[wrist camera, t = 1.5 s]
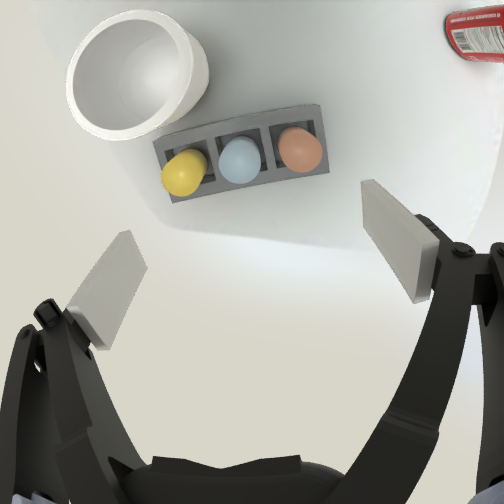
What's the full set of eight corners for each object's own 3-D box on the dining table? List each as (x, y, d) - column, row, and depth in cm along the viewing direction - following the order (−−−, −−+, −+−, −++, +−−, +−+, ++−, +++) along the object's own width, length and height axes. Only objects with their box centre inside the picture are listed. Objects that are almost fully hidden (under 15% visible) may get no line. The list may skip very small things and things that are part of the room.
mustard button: (169, 153, 30) (156, 164, 26) (202, 144, 30) (194, 153, 26) (179, 184, 32) (168, 200, 28) (211, 177, 32) (204, 191, 28)
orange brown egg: (273, 129, 29) (277, 136, 25) (309, 123, 29) (319, 129, 24) (280, 163, 31) (284, 175, 27) (314, 157, 31) (324, 169, 26)
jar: (188, 24, 24) (145, -16, 12) (236, 86, 29) (222, 81, 16) (119, 76, 27) (45, 78, 15) (163, 136, 32) (109, 169, 19)
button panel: (160, 137, 32) (152, 141, 29) (314, 104, 30) (320, 105, 27) (178, 194, 36) (172, 203, 33) (323, 166, 34) (329, 172, 31)
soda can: (436, 37, 23) (512, 32, 10) (448, 3, 19) (518, -10, 6) (473, 71, 24) (547, 82, 12) (483, 36, 20) (553, 39, 8)
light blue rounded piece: (219, 140, 30) (214, 148, 25) (255, 132, 29) (256, 139, 25) (228, 173, 32) (224, 187, 27) (262, 166, 31) (264, 179, 27)
